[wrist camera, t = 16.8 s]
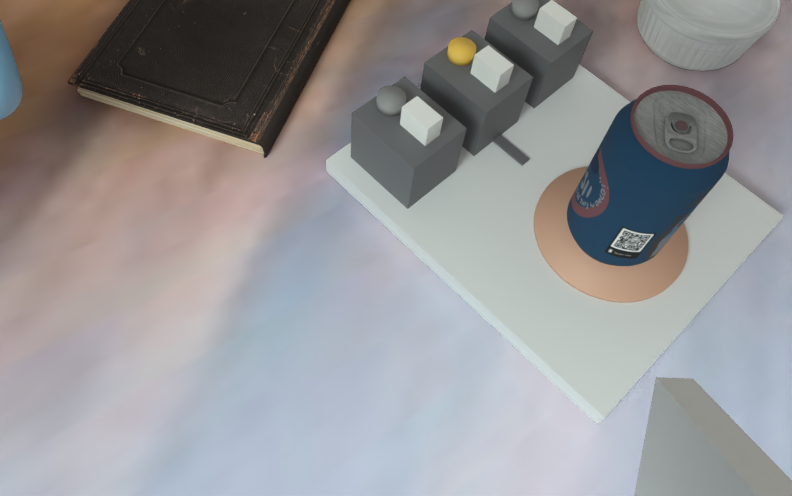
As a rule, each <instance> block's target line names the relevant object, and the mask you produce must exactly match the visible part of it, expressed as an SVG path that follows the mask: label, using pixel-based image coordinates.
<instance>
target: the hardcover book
mask: <svg viewBox="0 0 792 496" xmlns="http://www.w3.org/2000/svg"><path fill="white" fill-rule="evenodd" d="M349 2H350V0H129V2H128V3H127V4H126V6H125V7H124V8H123V10H122V11H121V12H120V13H119V15H118V16H117V17H116V19H115V20H114V21H113V23H112V24H111V25H110V27H109V28H108V29H107V30H106V32H105V33H104V34H103V36H102V37H101V38H100V40H99V41H98V42H97V44H96V45H95V46H94V47H93V49H92V50H91V51H90V53H89V54H88V55H87V57H86V58H85V59H84V61H83V62H82V63H81V64H80V66H79V67H78V68H77V70H76V71H75V72H74V74H73V75H72V76H71V78H70V79H69V80H68V83H69V84H71V85H74V86H77V87H78V90H77V92H79V93H80V95H81V96H84V97H87V98H90V99H93V100H96V101H99V102H102V103H105V104H109V105H112V106H115V107H118V108H121V109H124V110H127V111H130V112H133V113H136V114H140V115H143V116H146V117H149V118H152V119H155V120H158V121H161V122H164V123H167V124H171V125H174V126H177V127H180V128H183V129H186V130H189V131H192V132H195V133H198V134H201V135H204V136H208V137H211V138H214V139H217V140H220V141H223V142H226V143H229V144H232V145H235V146H238V147H242V148H245V149H248V150H251V151H254V152H257V153H260V154H263V155H264V158H265V157H267V155H268V153H269V151H270V149H271V147H272V146H273V144H274V142H275V140H276V138H277V136H278V134H279V133H280V131H281V129H282V127H283V125H284V123H285V121H286V119H287V118H288V116H289V114H290V112H291V110H292V108H293V106H294V104H295V103H296V101H297V99H298V97H299V95H300V93H301V91H302V90H303V88H304V86H305V84H306V82H307V80H308V78H309V76H310V75H311V73H312V71H313V69H314V67H315V65H316V63H317V61H318V60H319V58H320V56H321V54H322V52H323V50H324V48H325V47H326V45H327V43H328V41H329V39H330V37H331V35H332V33H333V32H334V30H335V28H336V26H337V24H338V22H339V20H340V18H341V17H342V15H343V13H344V11H345V9H346V7H347V5H348V3H349Z"/></svg>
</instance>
